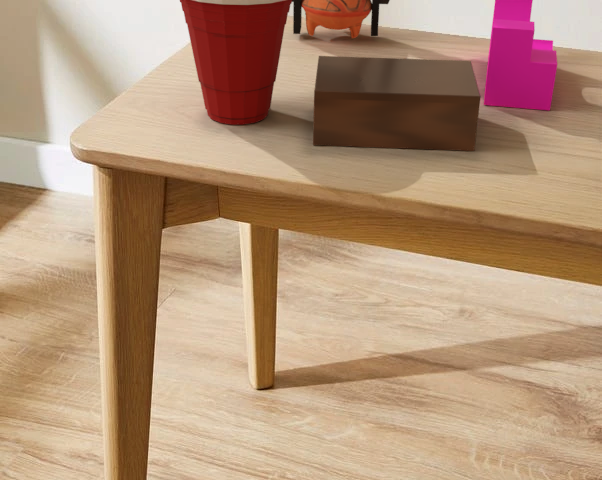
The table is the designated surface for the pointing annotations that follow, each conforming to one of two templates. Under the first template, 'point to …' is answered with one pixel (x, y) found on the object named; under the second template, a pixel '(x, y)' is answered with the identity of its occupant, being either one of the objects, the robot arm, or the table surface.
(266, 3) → the plastic cup
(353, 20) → the pot
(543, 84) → the toy block
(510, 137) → the table surface
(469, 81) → the block
